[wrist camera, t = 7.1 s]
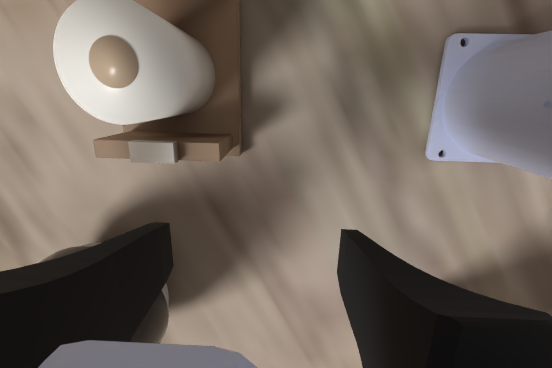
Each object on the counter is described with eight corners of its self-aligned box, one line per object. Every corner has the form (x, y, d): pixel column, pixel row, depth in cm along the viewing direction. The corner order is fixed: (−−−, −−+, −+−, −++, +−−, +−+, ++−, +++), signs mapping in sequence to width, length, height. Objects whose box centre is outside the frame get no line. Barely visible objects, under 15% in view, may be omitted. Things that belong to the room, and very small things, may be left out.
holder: (239, -24, 18) (219, -76, 12) (241, 153, 21) (226, 173, 15) (111, -25, 18) (36, -78, 12) (133, 149, 21) (81, 168, 16)
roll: (210, 28, 18) (162, -13, 11) (219, 112, 19) (182, 121, 12) (131, 34, 18) (36, -4, 11) (146, 116, 19) (70, 127, 12)
